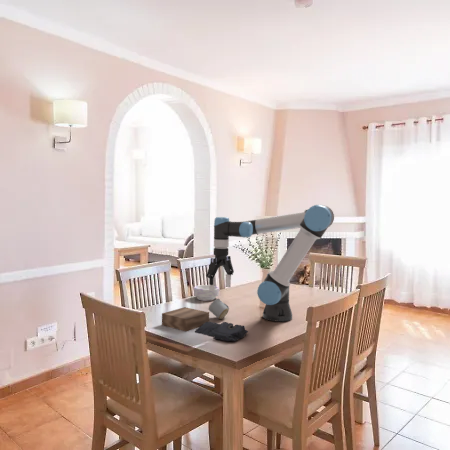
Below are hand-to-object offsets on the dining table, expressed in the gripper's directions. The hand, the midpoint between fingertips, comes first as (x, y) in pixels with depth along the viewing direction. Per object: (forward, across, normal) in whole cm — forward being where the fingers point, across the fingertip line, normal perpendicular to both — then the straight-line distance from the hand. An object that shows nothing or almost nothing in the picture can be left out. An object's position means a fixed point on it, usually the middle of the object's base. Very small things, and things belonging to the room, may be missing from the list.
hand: (220, 289), depth 214 cm
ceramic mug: (+15, 0, 0) cm, 15 cm away
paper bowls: (+15, -27, -30) cm, 44 cm away
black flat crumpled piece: (+15, +19, +16) cm, 29 cm away
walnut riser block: (+15, +20, -6) cm, 26 cm away
